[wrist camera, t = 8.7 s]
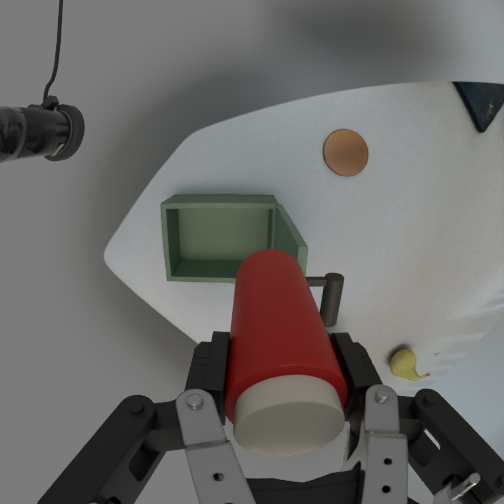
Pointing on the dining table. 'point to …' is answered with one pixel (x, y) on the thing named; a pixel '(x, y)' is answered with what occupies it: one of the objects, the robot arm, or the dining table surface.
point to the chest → (215, 234)
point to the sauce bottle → (280, 362)
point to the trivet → (345, 152)
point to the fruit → (405, 365)
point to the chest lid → (297, 248)
